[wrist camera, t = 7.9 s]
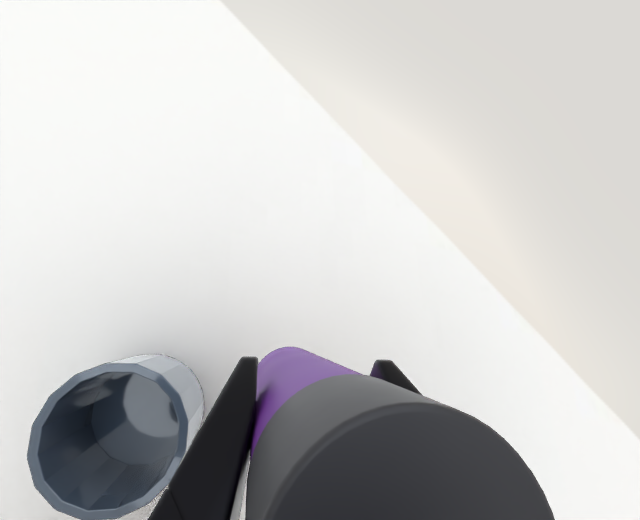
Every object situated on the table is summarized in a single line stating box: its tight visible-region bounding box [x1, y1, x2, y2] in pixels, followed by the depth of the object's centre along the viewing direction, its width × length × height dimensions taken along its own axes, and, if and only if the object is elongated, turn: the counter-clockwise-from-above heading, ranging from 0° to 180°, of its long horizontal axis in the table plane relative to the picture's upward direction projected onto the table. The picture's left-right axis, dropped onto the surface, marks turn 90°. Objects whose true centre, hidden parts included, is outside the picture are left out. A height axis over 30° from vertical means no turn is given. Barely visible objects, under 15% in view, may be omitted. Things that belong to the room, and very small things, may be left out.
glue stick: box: [245, 347, 555, 520], centre depth 9 cm, size 3×3×12 cm
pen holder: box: [27, 354, 204, 520], centre depth 18 cm, size 6×6×6 cm
